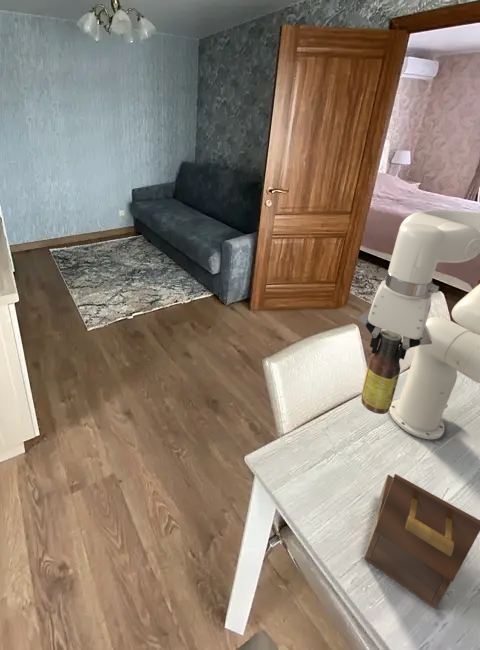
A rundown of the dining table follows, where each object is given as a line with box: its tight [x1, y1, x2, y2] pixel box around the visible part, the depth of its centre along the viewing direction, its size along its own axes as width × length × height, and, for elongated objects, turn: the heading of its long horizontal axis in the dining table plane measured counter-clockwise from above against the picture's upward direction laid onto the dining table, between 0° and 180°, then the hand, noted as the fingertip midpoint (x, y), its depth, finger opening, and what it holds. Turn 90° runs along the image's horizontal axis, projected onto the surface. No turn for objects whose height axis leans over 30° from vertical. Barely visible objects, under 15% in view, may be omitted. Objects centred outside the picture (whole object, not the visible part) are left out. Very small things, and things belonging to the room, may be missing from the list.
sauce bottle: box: [361, 329, 403, 415], centre depth 79 cm, size 7×6×20 cm
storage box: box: [363, 474, 452, 610], centre depth 65 cm, size 13×11×9 cm
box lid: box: [375, 473, 480, 583], centre depth 54 cm, size 14×11×6 cm
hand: (386, 354), depth 78 cm, fingers closed on sauce bottle, 4 cm apart
